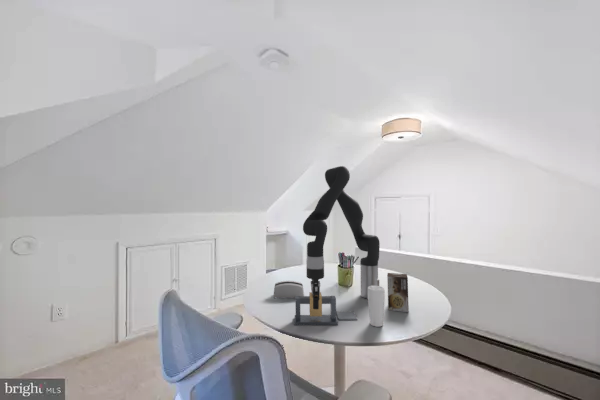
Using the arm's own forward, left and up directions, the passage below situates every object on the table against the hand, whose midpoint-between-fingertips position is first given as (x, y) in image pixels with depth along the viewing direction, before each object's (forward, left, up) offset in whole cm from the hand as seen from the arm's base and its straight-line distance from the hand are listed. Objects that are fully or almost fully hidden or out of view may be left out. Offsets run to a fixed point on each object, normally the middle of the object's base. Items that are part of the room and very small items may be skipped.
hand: (315, 306), depth 109 cm
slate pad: (-14, -5, -6) cm, 16 cm away
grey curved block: (+13, -30, -7) cm, 33 cm away
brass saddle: (0, 0, -3) cm, 3 cm away
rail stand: (0, 0, -6) cm, 6 cm away
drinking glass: (-25, +3, -7) cm, 26 cm away
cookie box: (-40, -13, -7) cm, 43 cm away
